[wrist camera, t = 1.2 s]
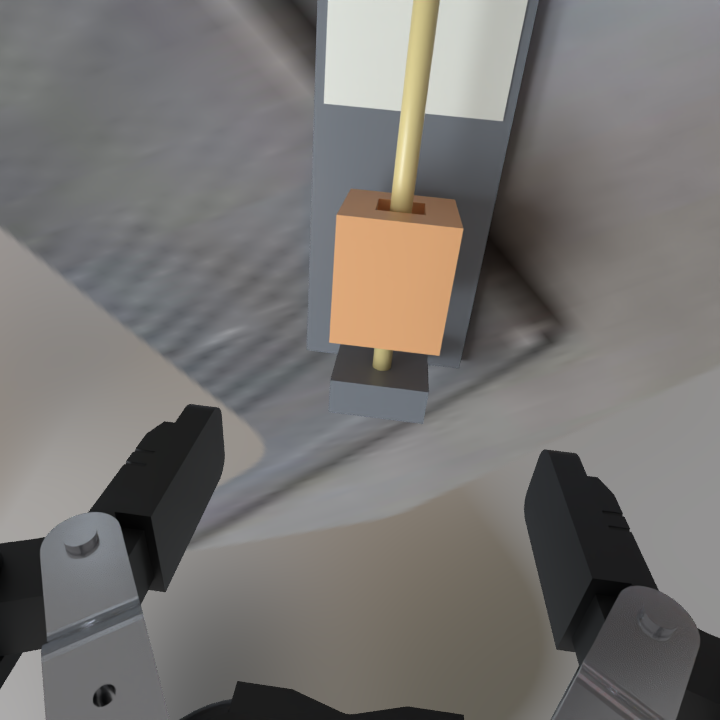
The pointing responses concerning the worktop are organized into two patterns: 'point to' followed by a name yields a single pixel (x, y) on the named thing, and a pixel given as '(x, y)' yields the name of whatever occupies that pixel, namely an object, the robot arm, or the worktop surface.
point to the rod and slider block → (409, 157)
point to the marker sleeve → (393, 272)
